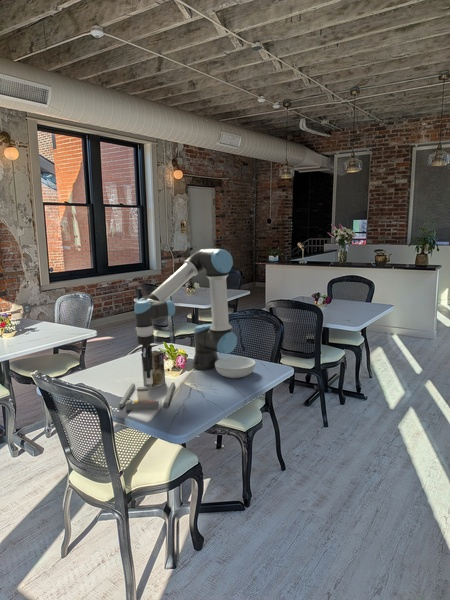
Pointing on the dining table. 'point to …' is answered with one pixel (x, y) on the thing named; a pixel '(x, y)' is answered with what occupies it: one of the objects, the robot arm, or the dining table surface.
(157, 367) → the coffee box
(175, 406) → the dining table surface
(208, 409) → the dining table surface
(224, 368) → the serving bowl
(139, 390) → the switch lever
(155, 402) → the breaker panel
